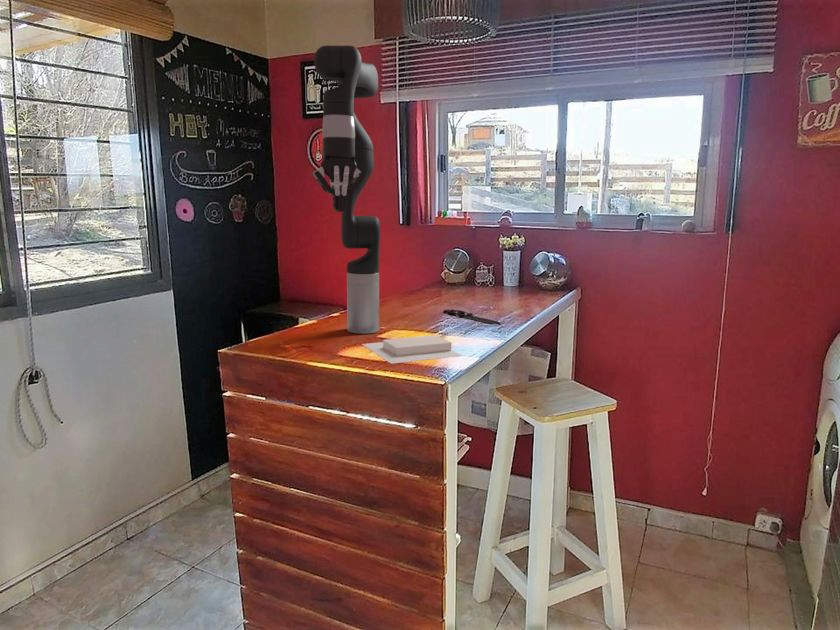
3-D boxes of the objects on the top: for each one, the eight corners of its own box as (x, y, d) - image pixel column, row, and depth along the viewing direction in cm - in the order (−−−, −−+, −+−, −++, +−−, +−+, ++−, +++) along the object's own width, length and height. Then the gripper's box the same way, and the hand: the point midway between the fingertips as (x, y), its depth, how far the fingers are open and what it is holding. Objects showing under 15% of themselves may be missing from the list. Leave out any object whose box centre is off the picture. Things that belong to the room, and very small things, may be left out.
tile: (382, 339, 154) (435, 335, 160) (382, 347, 154) (435, 342, 161) (396, 348, 146) (451, 342, 152) (396, 356, 146) (451, 350, 153)
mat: (361, 347, 158) (361, 344, 158) (426, 340, 166) (426, 338, 166) (390, 366, 140) (391, 363, 140) (462, 358, 148) (462, 355, 148)
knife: (504, 325, 190) (504, 321, 189) (488, 328, 186) (488, 323, 186) (455, 312, 210) (455, 308, 210) (440, 313, 206) (440, 309, 206)
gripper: (360, 139, 147) (360, 211, 151) (306, 136, 142) (308, 211, 145) (371, 137, 141) (370, 212, 144) (315, 133, 135) (316, 212, 138)
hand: (339, 211), depth 144 cm, fingers closed
